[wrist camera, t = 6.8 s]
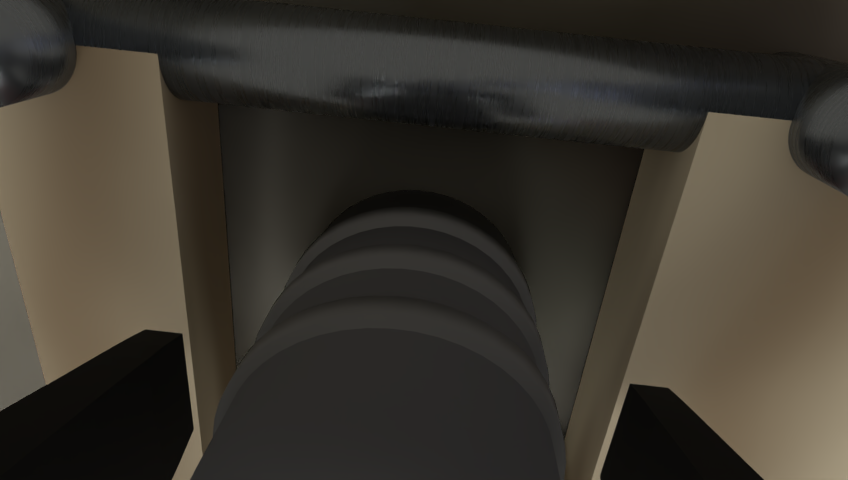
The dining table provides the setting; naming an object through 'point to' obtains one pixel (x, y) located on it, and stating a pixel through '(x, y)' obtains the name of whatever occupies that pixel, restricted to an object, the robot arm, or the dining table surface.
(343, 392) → the grooved grey cylinder
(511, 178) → the dining table surface
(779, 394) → the wooden picture frame
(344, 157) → the dining table surface
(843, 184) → the hook rod
